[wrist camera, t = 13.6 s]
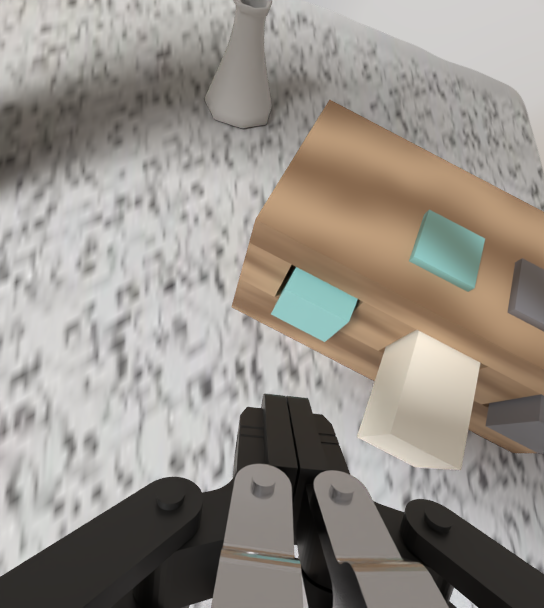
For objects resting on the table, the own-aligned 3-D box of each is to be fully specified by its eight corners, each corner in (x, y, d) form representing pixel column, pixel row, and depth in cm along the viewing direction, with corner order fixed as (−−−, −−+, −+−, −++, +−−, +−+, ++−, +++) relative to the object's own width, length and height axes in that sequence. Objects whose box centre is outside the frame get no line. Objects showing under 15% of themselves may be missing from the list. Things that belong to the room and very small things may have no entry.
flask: (202, 77, 38) (206, -38, 29) (268, 85, 40) (290, -21, 31) (205, 127, 36) (210, 17, 27) (275, 133, 37) (301, 32, 28)
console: (513, 453, 29) (717, 452, 18) (231, 307, 29) (257, 213, 18) (527, 339, 34) (694, 282, 23) (285, 213, 34) (332, 92, 22)
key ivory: (415, 467, 21) (460, 470, 18) (356, 437, 21) (390, 433, 18) (448, 329, 26) (490, 309, 22) (399, 304, 26) (433, 279, 22)
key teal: (324, 341, 23) (349, 321, 20) (270, 314, 23) (285, 288, 20) (369, 233, 28) (395, 200, 24) (323, 209, 28) (343, 173, 24)
